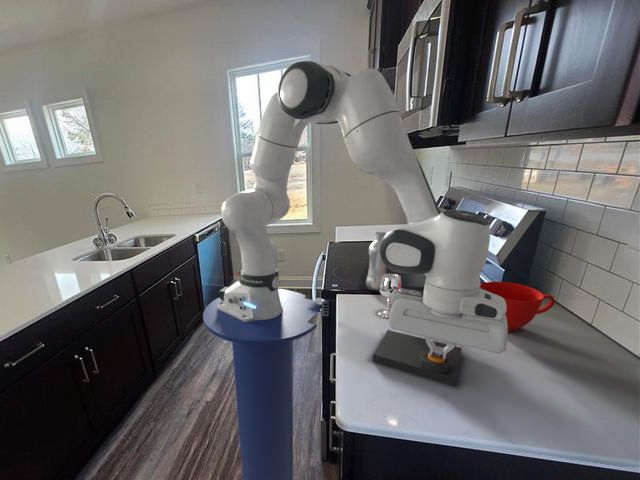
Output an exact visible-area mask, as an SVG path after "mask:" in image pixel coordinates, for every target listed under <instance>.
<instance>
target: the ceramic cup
mask: <svg viewBox="0 0 640 480" xmlns="http://www.w3.org/2000/svg"><path fill="white" fill-rule="evenodd" d="M480 288H481V289H483V290H486V291H488V292H491V293H493V294H496V295H498V296H500V297H502V298H504V300H505V302H506V305H507V310H506V314H505V315H506V317H507V325H508V332H515V331H516V330H518V329H522V328H523V327H524V326H526V325H528V324H529V323H530V322H532V320H534V318H535V317H536V315H540V314H542V313H545V312H547V311H548V310H551V309H552V308H553V307H554V305H555V303H556V299H555V297H554V296H552V295H550V294H543V293H542V292H541V291H540V290H538V289H535V288H533V287H530V286H527V285H523V284H520V283H513V282H508V281H507V282H506V281H486V282H481V285H480ZM544 299H549V301H548V303H547V304H545V305H544V306H543V307H542V304H543V301H544Z"/></svg>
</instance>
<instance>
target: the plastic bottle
mask: <svg viewBox="0 0 640 480" xmlns="http://www.w3.org/2000/svg"><path fill="white" fill-rule="evenodd" d="M387 233H388V232H383V231H379V232H377V231H376V232H375V233H374V237H373V239H374V241H372V243H370V245H369V247H368V257H369V260H368V270H367V271H368V272H367V276H366V278H365V279H366V280H365V286H366V288H367V290H369V291H372V292H380V290H379V285H380V281H381V279H382V276H383V275H384V274H387V268H388V267H387V266H386V265H385V264H384V263H383V261H382V259H381V256H380V243H381V241H382V239H383V237H384V236H385V235H386V234H387Z"/></svg>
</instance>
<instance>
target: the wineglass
mask: <svg viewBox="0 0 640 480" xmlns="http://www.w3.org/2000/svg"><path fill="white" fill-rule="evenodd" d="M400 288H403V283H402V277H401V275H400V274H396V273H386V274H384V275H383V276H382V279H381V281H380V285H379V290H380V291H379V293H380V294H381V295H382V296H383V297H384V298H386V310H381V311H379V312H378V315H379V316H380V317H382V318H387V319H389V316H390V312H391V310H389V309H390V308H389V307H390V305H391V302H390V299H391V294H392V292H393V291H395V290H399V289H400ZM398 292H399V291H398Z"/></svg>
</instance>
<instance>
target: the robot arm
mask: <svg viewBox="0 0 640 480" xmlns="http://www.w3.org/2000/svg"><path fill="white" fill-rule="evenodd" d="M312 123H314V124H316V125H323V124H324V125H333V124H338V125H339V127H340V129H341V133H342V136H343V140H344V143H345V146H346V150H347V152H348V155H349V157H350V159H351V160H352V163H354V165H355V168H357V169H359V170H360V171H362V172H364V173H366V174H368V175H372V176H374V177H377V178H378V179H381V180H382V181H384V182H386V183H387V184H388V185H390V186H391V187H392V189H393V190H394V191H395V193H396V196H397V198H398V200H399V203H400V205H401V207H402V210H403V213H404V215H405V217H406V220H407V224H405V225H402V226H398V227H396V228H394V229H392V230H390V231H388V232H386V233H387V234H386V235H385V236H384V237H383V239H382V241H381V243H380V256H381V259H382V261H383V263H384V264H385V265H386V266H387V267H386V268H387V269H389V270H390V271H392V272H394V273H398V274H406V275H424V276H425V280H424V287H423V291H422V290H416V289H408V288H403V287H402V288H400V289H399V290H395V291H393V292H392V294H391V298H390V305H391V309H390V316H389V318H388V321H387V325H388V326H389V327H390V328H391V330H397V331H400V332H405V333H409V334H413V335H416V336H421V337H425V339H426V342H427V344H428V346H429V348H430V354H429V355H430V356H434V357H438V358H443V359H445V358H446V354H447V353H448V352H449V351H451V350H452V349H453V348H454V347H455V346H456V345H459V346H464V347H467V348H472V349H476V350H480V351H485V352H489V353H493V354H501V353H503V352H505V351H506V349H507V344H508V333H509V331H508V325H507V317H506V315H505V314H506V310H507V305H506V302H505V300H504V298H502V297H500V296H498V295H496V294H493V293H491V292H488V291H486V290H483V289H481V288H480V285H481V284H482V282H481V281H482V280H481V273H482V270H483V269H484V267H485V266H486V262H487V259H488V254H489V248H490V240H491V225H490V223H489V221H488V219H486V218H485V217H484V216H482V215H481V214H478V213H475V212H472V211H468V210H461V209H460V210H458V209H447V210H443V211H441V209H440V208H439V206H438V203H437V201H436V199H435V196H434V194H433V192H432V188H431V187H430V184H429V181H428V179H427V177H426V173H425V172H424V169H423V167H422V165H421V163H420V161H419V158H418V157H417V155H416V153H415V150H414V148H413V146H412V144H411V143H412V142H411V141H410V138H409V136H408V132H407V130H406V126H405V123H404V121H403V117H402V114H401V111H400V108H399V106H398V103H397V100H396V98H395V95H394V93H393V91H392V89H391V87H390V85H389V83H388V82H387V80H386V79H385V76H384V75H383V74H382V73H381V72H380V71H379V70H378V69H375V68H364V69H359V70H357V71H356V72H354V73H352V74H350V73H348V72H344V71H343V70H341V69H339V68H337V67H335V66H333V65H327V64H326V65H325V64H321V63H317V62H315V61H313V60H302V61H301V60H300V61H297V62H295V63H293V64H291V65H290V66H288V67H287V68H286V69H285V71H284V72H283V73H282V76H281V77H280V80H279V83H278V88H277V92H275V93H274V94H273V95H271V97H270V99H269V101H268V103H267V106H266V108H265V110H264V113H263V115H262V118H261V121H260V123H259V127H258V130H257V133H256V137H255V141H254V145H253V149H252V153H251V157H250V162H249V165H250V169H251V171H252V172H253V173H254V184H253V187H252V189H249V190H243V191H239V192H236V193H235V194H233V195H231V196H229V197H227V198H226V199H225V200H224V201H223V202H222V205H221V207H220V208H221V209H220V216H221V219H222V222H223V224H224V225H225V227H226V228H227V229H228V230H230V231H231V232H232V233H233V234H234V236H235V237H236V239H237V242H238V246H239V250H240V258H241V259H240V260H241V269H240V270H239V271H238V272H235V277H238V276H239V277H238V280H237V281H235V282H234V283H232V284H231V285H230V286H224V287H223V288H221V289H219V290H218V295H219V297H220V299H222V301H221V302H220V303H219V304H218V309H219V310H221V311H223V312H225V313H227V314H229V315H231V316H233V317H235V318H237V319H240V320H242V321H244V322H250V321H254V320H267V319H272V318H275V317H277V316H279V315H280V314H281V313H282V311H283V308H282V305H281V302H280V297H279V291H278V289H279V283H280V279H279V278H280V275H279V274H280V273H279V268H278V247H277V244H276V243H275V242H274V241H273V240H271V239H270V237H269V232H268V228H267V226H269V225H272V224H275V223H277V222H278V221H280V220H281V219H283V218H284V217H285V216H286V215H288V213H289V211H290V207H291V200H290V197H289V195H288V183H289V176H290V172H291V168H292V166H293V162H294V159H295V156H296V153H297V150H298V147H299V144H300V140H301V137H302V135H303V132H304V130H305V128H306V127H307V126H308V125H309V124H312ZM398 291H399V292H398ZM435 340H438V341H441V342H446V344H447V346H446V347H444V348H442V347H438V346H435V344H434V342H433V341H435Z"/></svg>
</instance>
